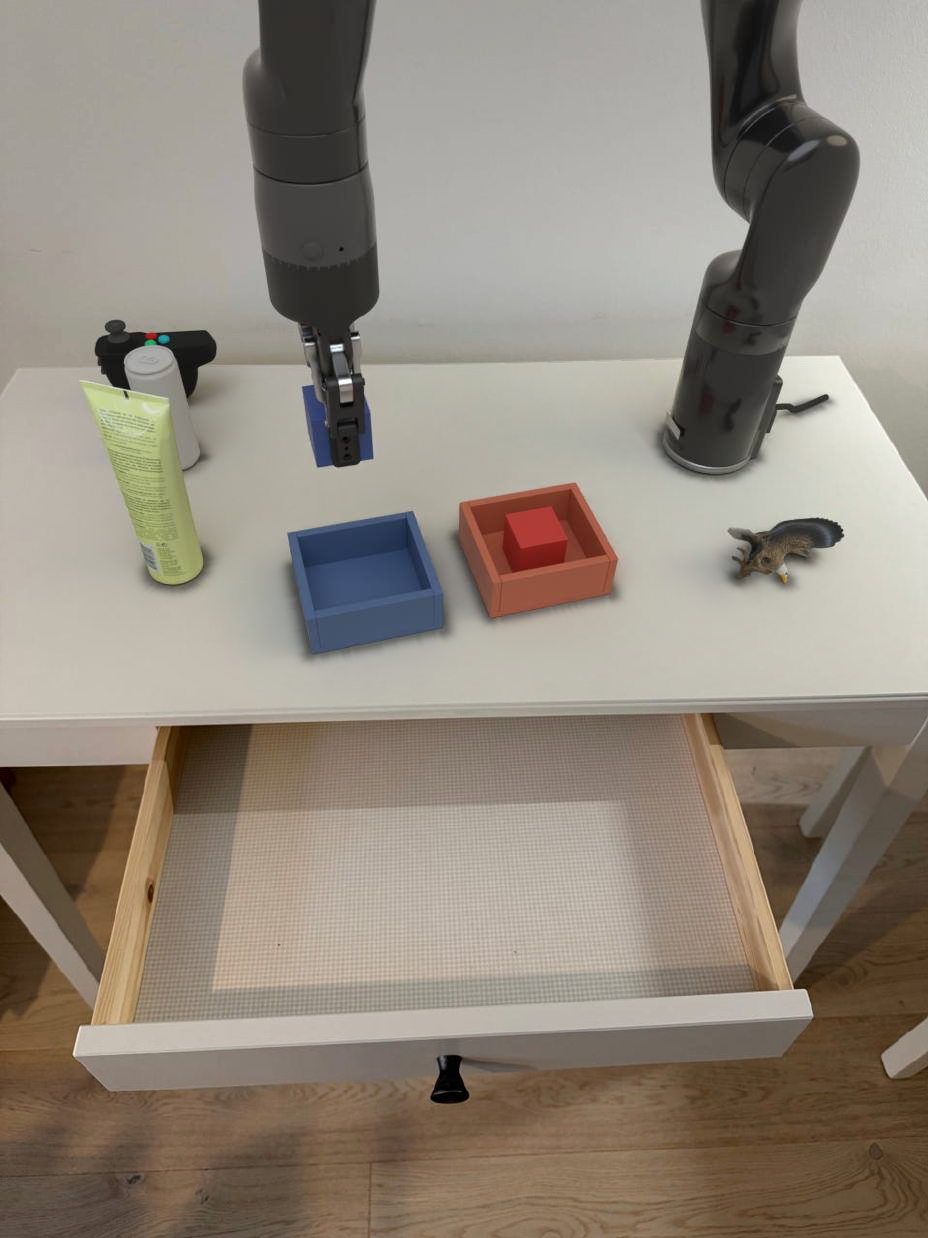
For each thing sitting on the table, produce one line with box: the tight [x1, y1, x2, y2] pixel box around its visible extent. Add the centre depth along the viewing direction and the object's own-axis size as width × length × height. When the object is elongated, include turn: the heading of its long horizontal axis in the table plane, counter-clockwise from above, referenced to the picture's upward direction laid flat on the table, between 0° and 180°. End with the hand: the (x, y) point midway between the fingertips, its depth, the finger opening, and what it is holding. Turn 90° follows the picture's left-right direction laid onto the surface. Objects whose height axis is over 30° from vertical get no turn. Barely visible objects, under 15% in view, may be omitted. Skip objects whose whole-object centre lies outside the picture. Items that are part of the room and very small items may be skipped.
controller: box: [93, 319, 218, 400], centre depth 94 cm, size 4×12×10 cm, turn 100°
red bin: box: [457, 481, 619, 619], centre depth 81 cm, size 12×11×5 cm
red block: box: [503, 506, 568, 573], centre depth 80 cm, size 4×4×4 cm
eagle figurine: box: [727, 516, 845, 584], centre depth 81 cm, size 8×7×9 cm
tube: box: [79, 379, 204, 585], centre depth 74 cm, size 6×5×20 cm
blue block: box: [301, 383, 375, 469], centre depth 68 cm, size 4×4×4 cm
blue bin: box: [286, 510, 444, 655], centre depth 78 cm, size 12×11×5 cm
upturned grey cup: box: [124, 345, 201, 471], centre depth 87 cm, size 5×5×12 cm
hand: (340, 442), depth 70 cm, fingers closed on blue block, 4 cm apart
